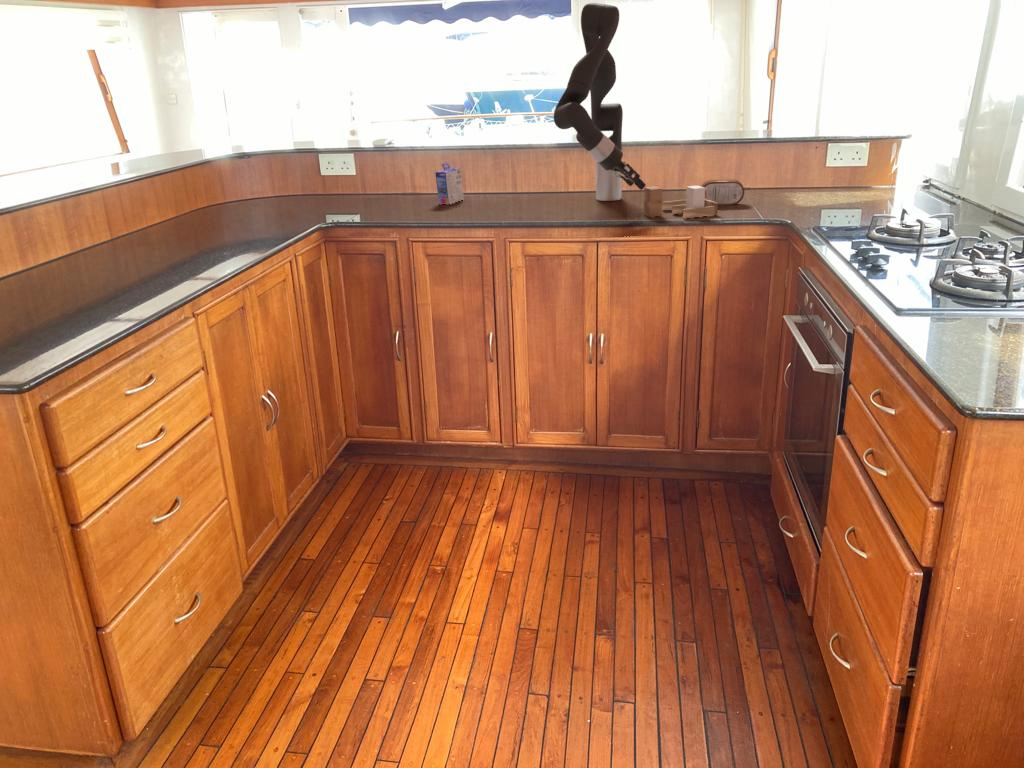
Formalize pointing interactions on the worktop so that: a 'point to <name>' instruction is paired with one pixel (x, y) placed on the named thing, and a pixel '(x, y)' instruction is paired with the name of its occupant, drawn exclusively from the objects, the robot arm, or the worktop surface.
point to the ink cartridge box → (449, 185)
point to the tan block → (652, 201)
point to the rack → (680, 207)
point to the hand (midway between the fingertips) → (637, 185)
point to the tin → (724, 191)
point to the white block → (695, 197)
